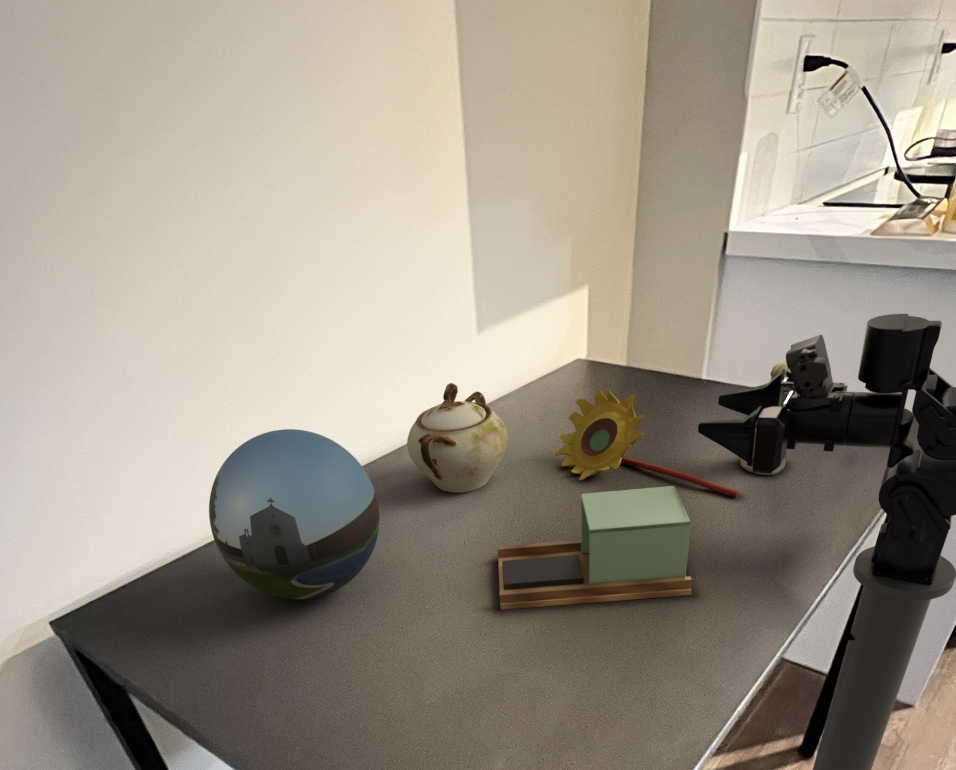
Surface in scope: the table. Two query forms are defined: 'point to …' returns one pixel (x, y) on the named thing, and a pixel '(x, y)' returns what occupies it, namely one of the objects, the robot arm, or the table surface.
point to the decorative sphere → (294, 514)
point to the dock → (582, 590)
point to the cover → (634, 534)
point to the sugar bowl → (458, 442)
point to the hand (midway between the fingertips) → (708, 413)
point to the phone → (542, 572)
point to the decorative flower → (612, 440)
